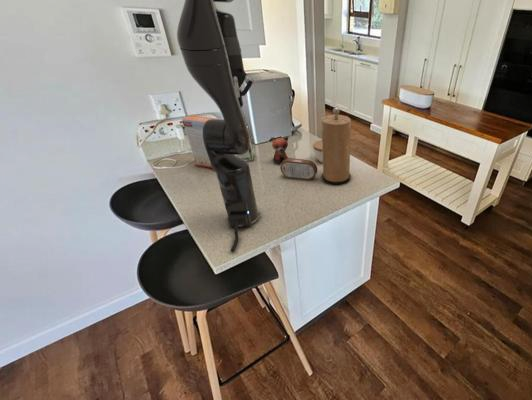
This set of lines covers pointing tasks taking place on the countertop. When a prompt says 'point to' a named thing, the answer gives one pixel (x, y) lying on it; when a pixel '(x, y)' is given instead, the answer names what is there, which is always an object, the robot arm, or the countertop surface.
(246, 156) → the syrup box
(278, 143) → the stuffed fox
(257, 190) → the countertop surface
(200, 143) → the cracker box
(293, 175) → the tin
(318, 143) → the trinket box
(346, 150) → the paper towel roll
